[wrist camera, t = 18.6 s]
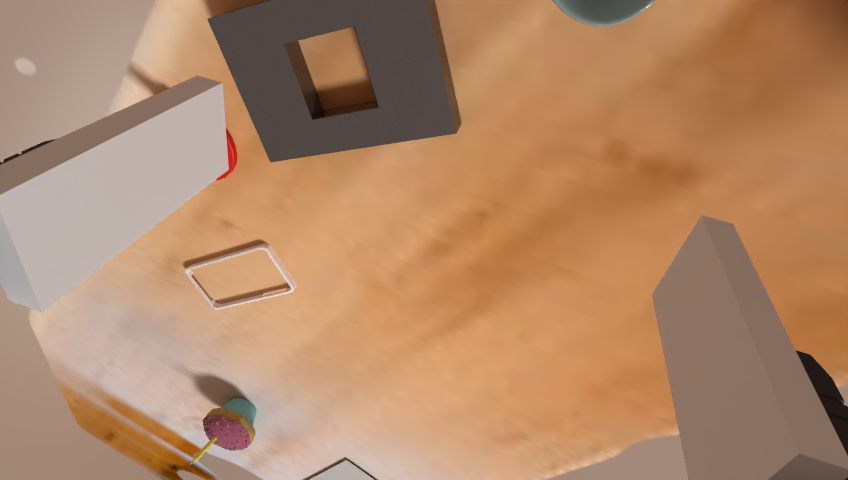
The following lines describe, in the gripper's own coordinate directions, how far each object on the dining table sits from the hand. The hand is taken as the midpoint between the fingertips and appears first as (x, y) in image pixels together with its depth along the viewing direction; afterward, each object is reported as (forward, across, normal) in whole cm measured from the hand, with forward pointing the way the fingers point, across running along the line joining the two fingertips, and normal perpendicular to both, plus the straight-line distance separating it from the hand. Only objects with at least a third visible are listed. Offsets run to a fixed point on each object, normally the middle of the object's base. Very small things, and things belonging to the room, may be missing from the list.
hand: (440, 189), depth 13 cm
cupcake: (+32, -28, -70) cm, 82 cm away
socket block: (+32, -15, -9) cm, 36 cm away
